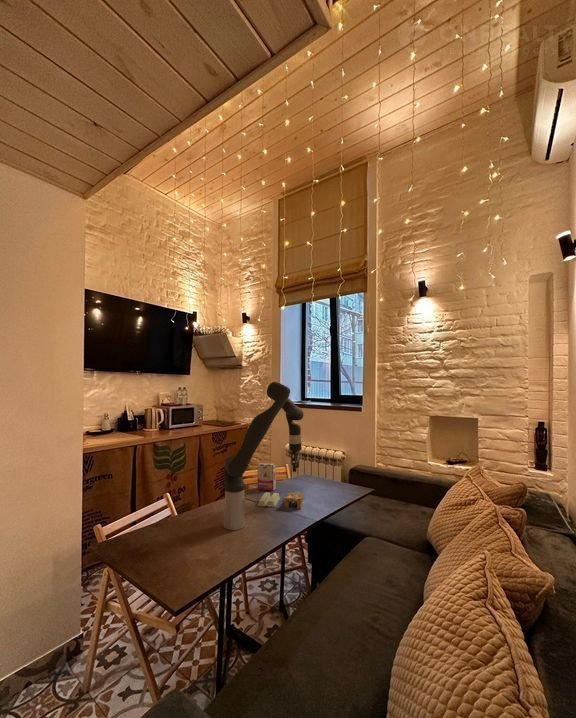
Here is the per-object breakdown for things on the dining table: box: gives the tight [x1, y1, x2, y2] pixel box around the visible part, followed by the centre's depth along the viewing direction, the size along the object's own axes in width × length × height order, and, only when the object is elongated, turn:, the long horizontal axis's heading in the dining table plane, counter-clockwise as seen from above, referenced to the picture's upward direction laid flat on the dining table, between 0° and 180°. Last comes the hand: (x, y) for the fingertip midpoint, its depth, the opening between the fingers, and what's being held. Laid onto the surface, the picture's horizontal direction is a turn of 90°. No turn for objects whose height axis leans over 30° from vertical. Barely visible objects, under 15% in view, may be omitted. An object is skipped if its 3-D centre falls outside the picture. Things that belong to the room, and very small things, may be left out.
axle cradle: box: [257, 492, 281, 508], centre depth 190 cm, size 10×14×3 cm
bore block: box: [283, 492, 305, 510], centre depth 188 cm, size 9×16×6 cm, turn 170°
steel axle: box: [289, 490, 301, 507], centre depth 191 cm, size 14×4×4 cm, turn 170°
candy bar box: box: [257, 462, 277, 492], centre depth 214 cm, size 11×5×16 cm, turn 73°
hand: (295, 469), depth 195 cm, fingers open, 8 cm apart
